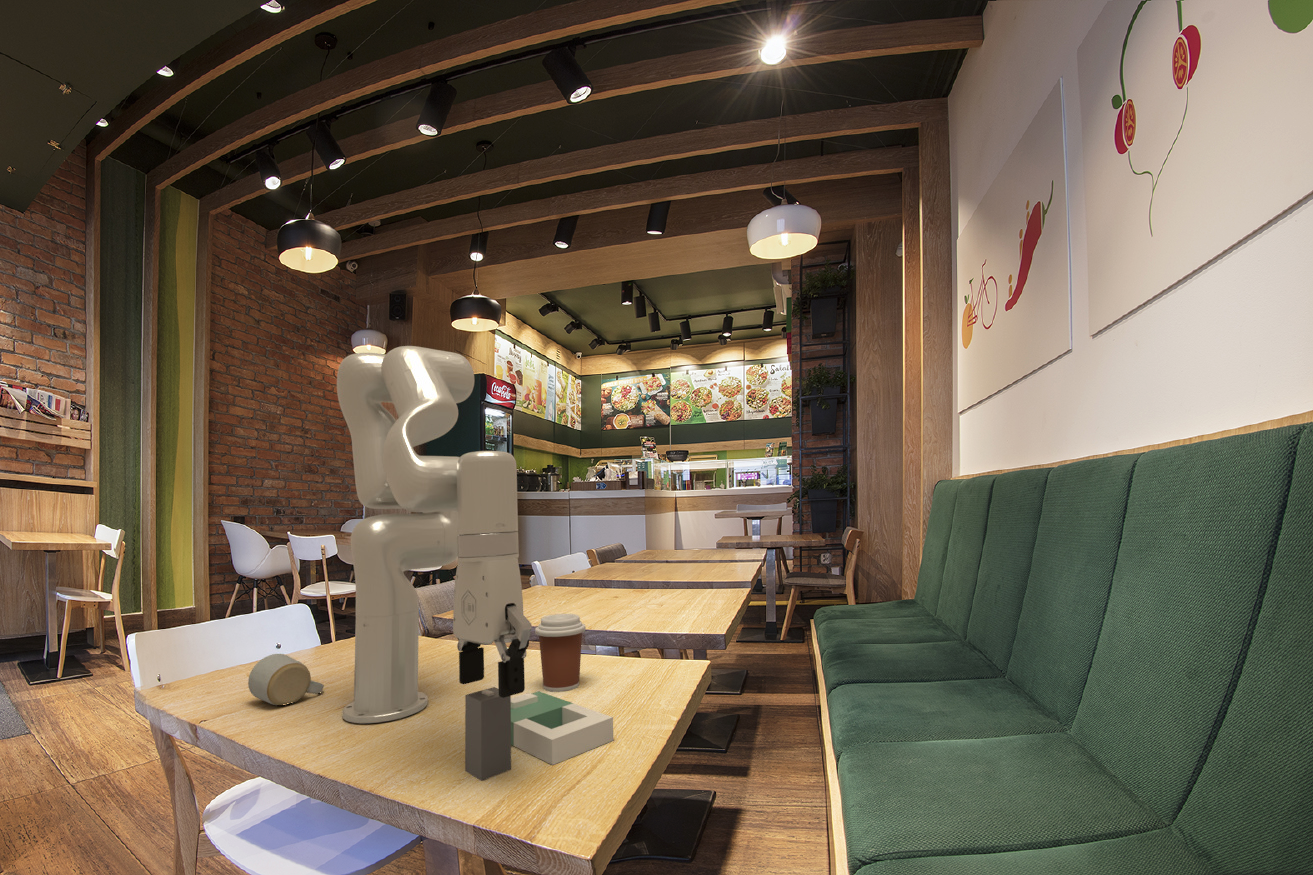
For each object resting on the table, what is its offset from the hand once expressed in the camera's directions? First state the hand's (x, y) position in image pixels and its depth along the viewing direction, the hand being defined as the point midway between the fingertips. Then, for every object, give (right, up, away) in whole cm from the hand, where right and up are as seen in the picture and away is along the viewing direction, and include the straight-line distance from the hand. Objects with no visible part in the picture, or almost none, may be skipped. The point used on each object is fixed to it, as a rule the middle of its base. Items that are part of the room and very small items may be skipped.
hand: (491, 687), depth 73 cm
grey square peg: (0, -10, -1) cm, 10 cm away
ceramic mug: (-44, -15, +30) cm, 56 cm away
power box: (+5, -11, +10) cm, 16 cm away
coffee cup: (+4, -14, +32) cm, 35 cm away
